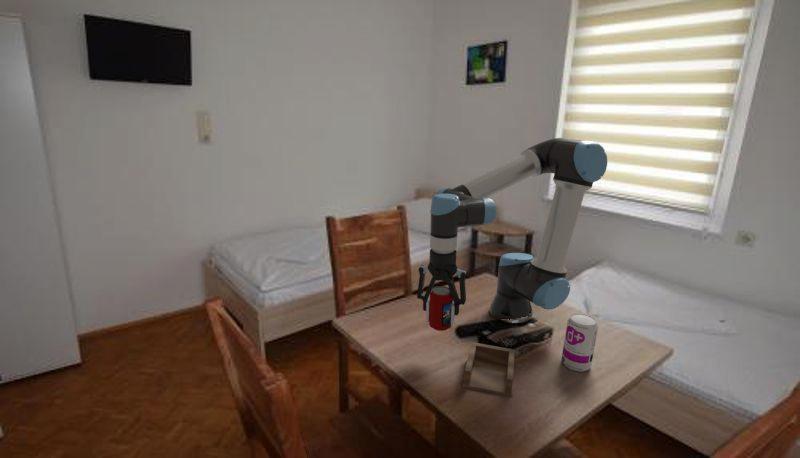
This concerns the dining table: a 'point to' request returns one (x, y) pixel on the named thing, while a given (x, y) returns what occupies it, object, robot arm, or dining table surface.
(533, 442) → the dining table surface
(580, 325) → the supplement can
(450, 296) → the beverage can
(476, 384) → the walnut U-rest
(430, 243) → the robot arm
